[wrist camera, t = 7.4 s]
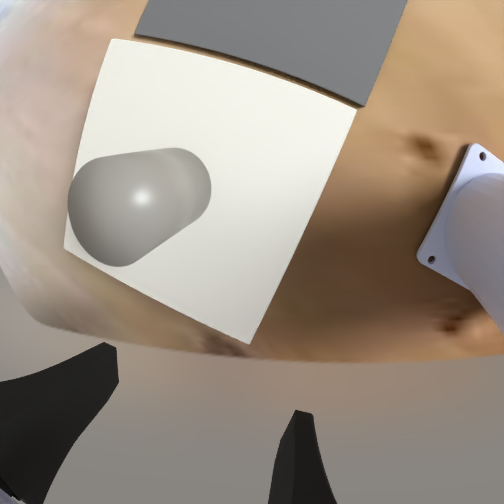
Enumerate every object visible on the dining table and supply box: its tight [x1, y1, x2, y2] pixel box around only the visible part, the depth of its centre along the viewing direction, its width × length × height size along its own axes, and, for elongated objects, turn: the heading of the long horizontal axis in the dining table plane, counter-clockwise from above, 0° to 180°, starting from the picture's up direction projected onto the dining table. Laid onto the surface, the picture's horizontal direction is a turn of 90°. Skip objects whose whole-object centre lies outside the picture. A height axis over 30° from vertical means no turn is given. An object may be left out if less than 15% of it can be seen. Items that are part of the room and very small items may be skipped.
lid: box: [64, 38, 357, 344], centre depth 12 cm, size 12×12×6 cm
